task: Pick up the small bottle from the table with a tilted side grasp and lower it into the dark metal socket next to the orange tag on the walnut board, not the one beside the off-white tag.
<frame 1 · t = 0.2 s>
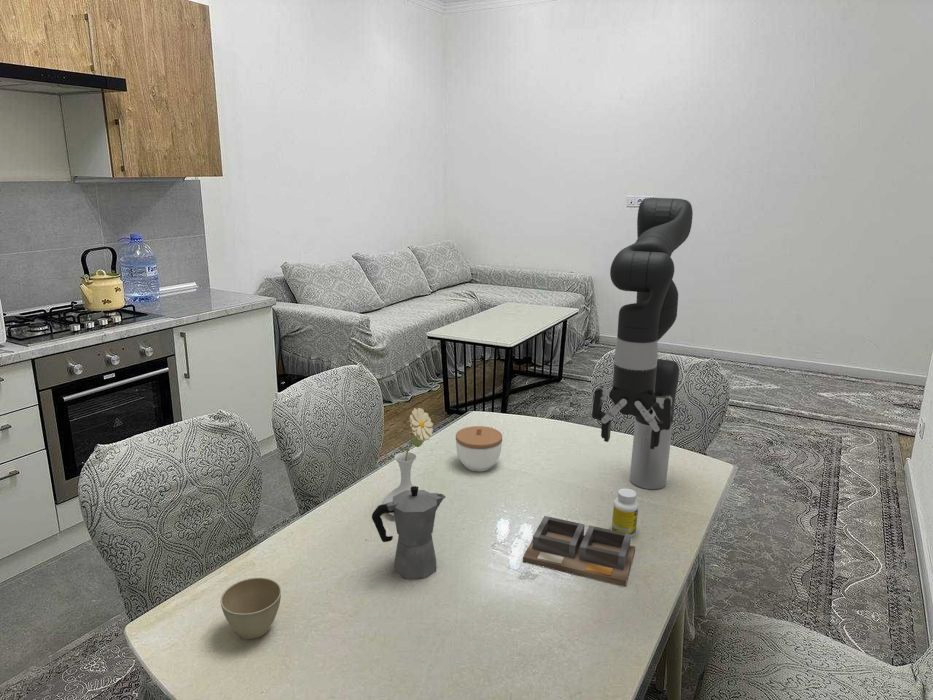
hand: (629, 443, 122), 29 cm above the table, tool pointing down, fingers open, 8 cm apart
supplement bottle: (623, 532, 146), on the table
socket board: (579, 556, 136), on the table
beige bowl: (254, 630, 114), on the table
flower in vase: (409, 509, 155), on the table
lidded bowl: (478, 466, 177), on the table
coffeepot: (410, 568, 132), on the table
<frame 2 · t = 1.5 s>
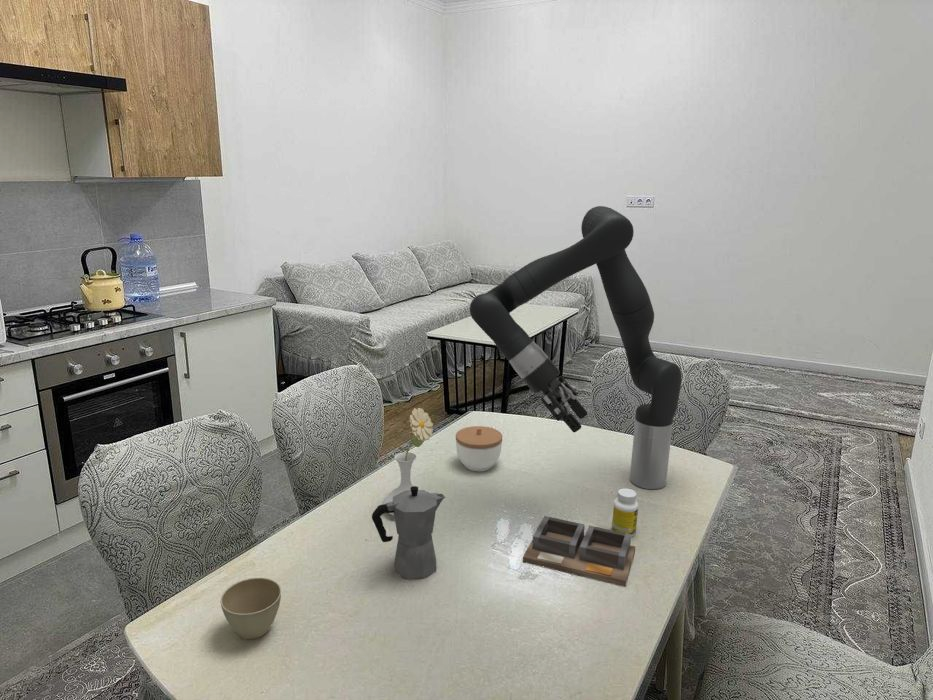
hand: (581, 423, 143), 25 cm above the table, tool tilted 45°, fingers open, 8 cm apart
nothing on the table moved.
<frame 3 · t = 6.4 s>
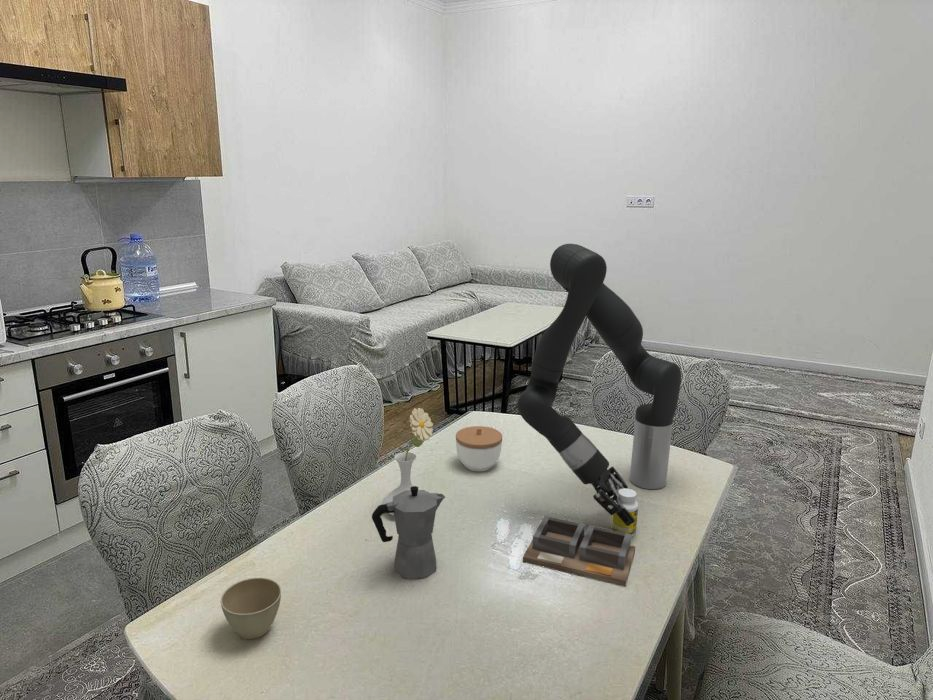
hand: (633, 516, 144), 4 cm above the table, tool tilted 45°, fingers closed on supplement bottle, 5 cm apart
supplement bottle: (623, 532, 146), on the table, touching gripper
everything else where it was.
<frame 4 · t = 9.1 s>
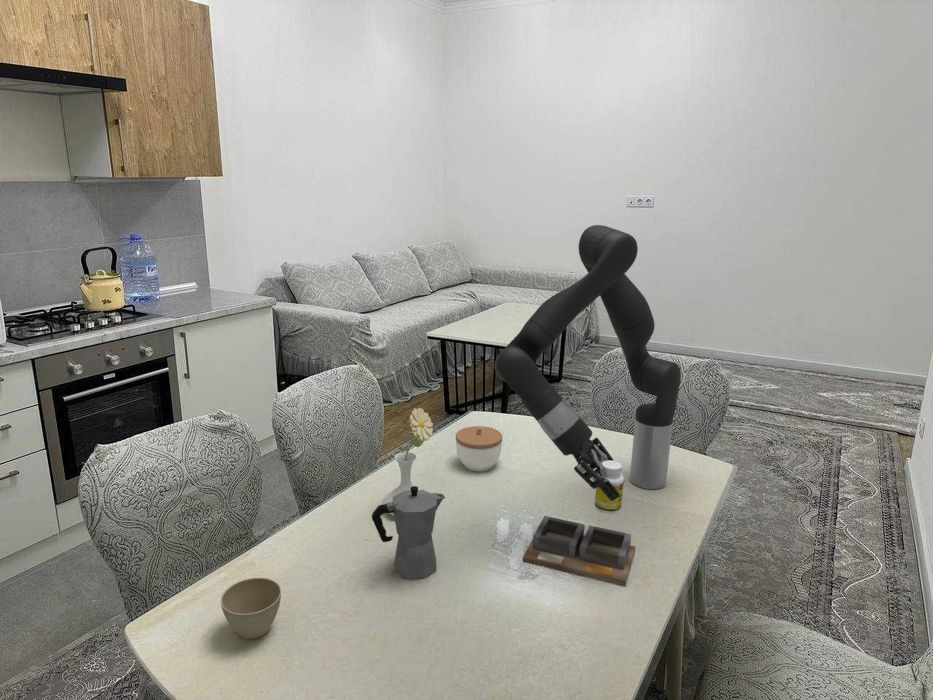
hand: (618, 491, 131), 16 cm above the table, tool tilted 45°, fingers closed on supplement bottle, 5 cm apart
supplement bottle: (607, 508, 133), point 12 cm above the table, touching gripper
everything else where it was.
when the fingers open (6 cm above the table, at t = 11.7 s): supplement bottle drops 1 cm, resting on socket board.
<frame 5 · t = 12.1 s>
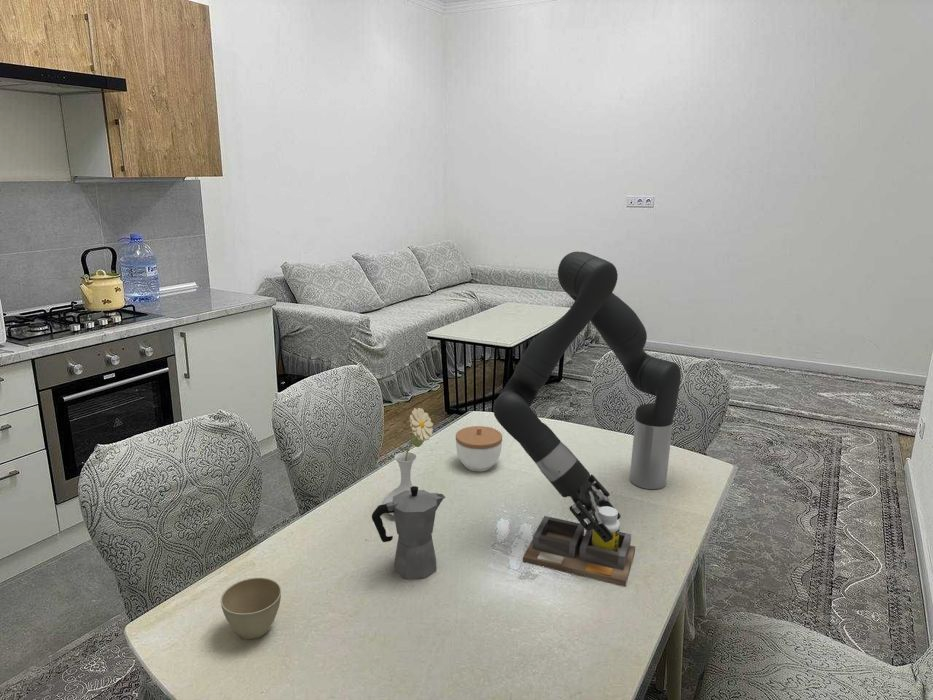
hand: (613, 529, 134), 7 cm above the table, tool tilted 45°, fingers open, 8 cm apart
supplement bottle: (604, 553, 136), point 1 cm above the table, touching socket board
everything else where it was.
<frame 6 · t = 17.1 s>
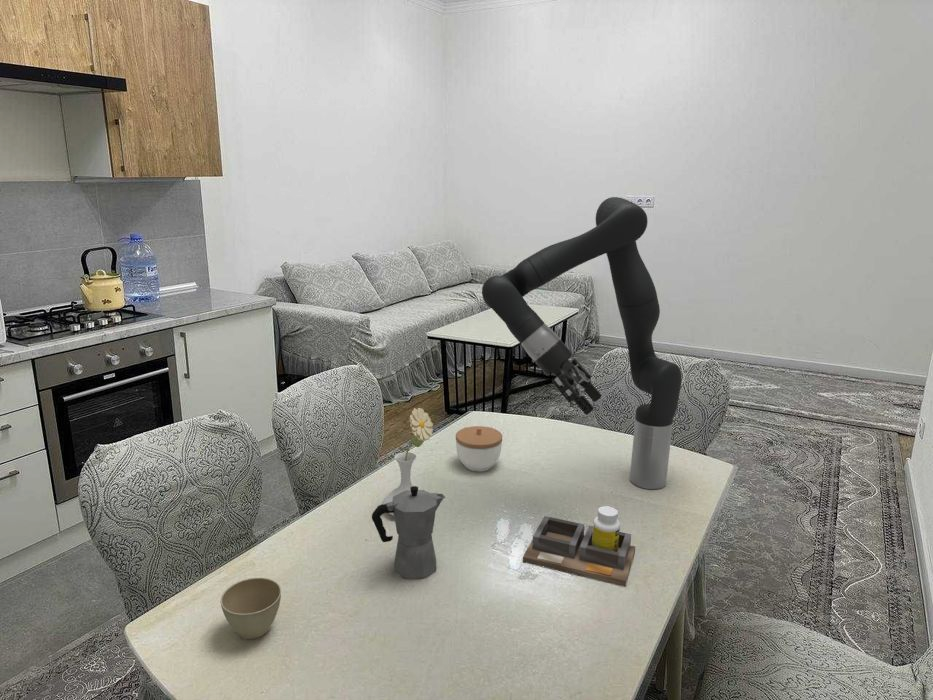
hand: (594, 405, 142), 29 cm above the table, tool tilted 45°, fingers open, 8 cm apart
nothing on the table moved.
at the end: supplement bottle 0.2 cm from the target spot on the socket board, point 1.0 cm above the socket board's base; supplement bottle tilted 0°; the gripper is holding nothing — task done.
